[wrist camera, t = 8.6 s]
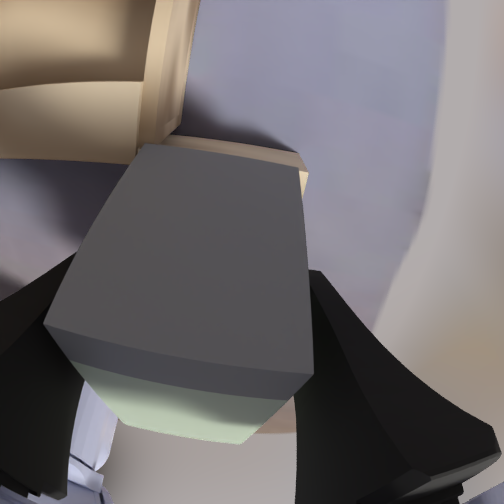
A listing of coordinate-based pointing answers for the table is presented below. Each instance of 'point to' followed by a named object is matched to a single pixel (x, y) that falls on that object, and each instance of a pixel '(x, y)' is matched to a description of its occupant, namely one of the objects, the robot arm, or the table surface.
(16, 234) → the table surface
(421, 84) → the table surface
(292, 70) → the table surface
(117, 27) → the wooden tray
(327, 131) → the table surface
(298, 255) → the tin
